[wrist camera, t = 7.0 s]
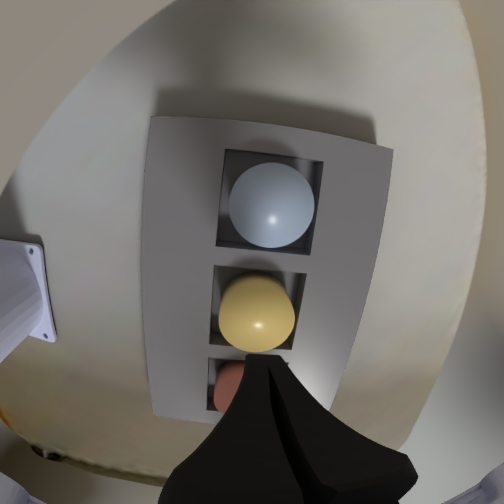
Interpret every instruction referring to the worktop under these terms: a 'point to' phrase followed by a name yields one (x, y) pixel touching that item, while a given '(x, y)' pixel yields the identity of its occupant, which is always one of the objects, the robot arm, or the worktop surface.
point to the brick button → (227, 383)
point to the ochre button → (255, 312)
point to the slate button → (271, 205)
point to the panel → (252, 253)
